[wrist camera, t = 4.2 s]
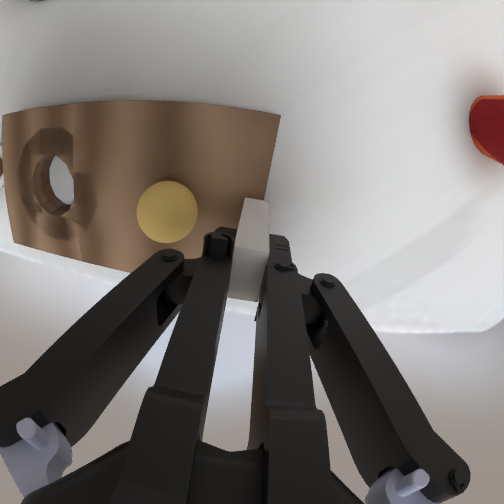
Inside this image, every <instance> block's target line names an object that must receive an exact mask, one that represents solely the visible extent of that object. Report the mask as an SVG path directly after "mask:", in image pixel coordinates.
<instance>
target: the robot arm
mask: <svg viewBox="0 0 504 504" xmlns="http://www.w3.org/2000/svg"><path fill="white" fill-rule="evenodd" d="M32 1H41V0H32ZM227 297H229V298H235V299H241V300H247V301H254V302H258V300H259V303H258V307H257V312H256V316H255V320H254V321H256V338H255V354H254V371H253V388H252V402H251V418H250V433H249V442H248V447H247V450H244V451H235V452H229V451H225V450H223V449H220V448H217V447H215V446H212V445H210V444H207V443H204V442H202V437H203V431H204V424H205V418H206V413H207V407H208V400H209V395H210V389H211V383H212V377H213V372H214V366H215V361H216V355H217V349H218V343H219V338H220V333H221V328H222V322H223V316H224V311H225V306H226V300H227ZM179 311H180V313H179ZM178 313H179V316H178V318H177V321H176V324H175V327H174V329H173V332H172V335H171V338H170V341H169V344H168V346H167V349H166V352H165V355H164V358H163V361H162V364H161V367H160V370H159V373H158V376H157V379H156V382H155V384H154V386H153V387H149V388H148V389H147V391H146V393H145V396H144V398H143V401H142V405H141V407H140V411H139V414H138V417H137V420H136V423H135V426H134V429H133V433H132V436H131V439H130V441H128V442H125V443H123V444H121V445H119V446H117V447H115V448H114V449H112V450H111V451H109V452H107V453H106V454H104V455H102V456H101V457H99V458H97V459H95V460H94V461H92V462H90V463H88V464H86V465H85V466H83V467H81V468H79V469H77V470H76V471H74V472H72V473H70V474H68V475H66V476H64V477H62V474H63V471H64V470H65V469H66V468H67V467H68V466H70V465H71V463H72V449H71V447H72V446H73V445H75V444H76V443H77V442H78V441H79V440H80V439H81V438H82V437H83V436H84V435H85V434H86V433H87V432H88V431H89V429H90V428H91V427H92V426H93V424H94V423H95V422H96V420H97V419H98V418H99V416H100V415H101V414H102V412H103V411H104V409H105V408H106V407H107V405H108V404H109V403H110V401H111V400H112V399H113V397H114V396H115V395H116V393H117V392H118V391H119V389H120V388H121V387H122V385H123V384H124V383H125V381H126V380H127V379H128V377H129V376H130V375H131V374H132V372H133V371H134V370H135V368H136V367H137V365H138V364H139V363H140V362H141V360H142V359H143V358H144V356H145V355H146V354H147V353H148V351H149V350H150V349H151V347H152V346H153V345H154V344H155V342H156V340H158V338H159V337H160V336H161V334H162V333H163V332H164V331H165V329H166V328H167V327H168V325H169V324H170V323H171V322H172V320H173V319H174V318H175V316H176V315H177V314H178ZM310 356H311V358H312V361H313V363H314V365H315V368H316V370H317V372H318V375H319V377H320V380H321V382H322V385H323V387H324V389H325V392H326V394H327V397H328V399H329V401H330V404H331V406H332V409H333V411H334V413H335V416H336V418H337V421H338V423H339V425H340V428H341V430H342V433H343V435H344V438H345V440H346V443H347V445H348V448H349V450H350V453H351V455H352V458H353V460H354V463H355V465H356V466H357V469H358V471H359V473H360V475H361V476H362V478H363V479H364V481H365V482H366V484H367V485H368V486H369V487H370V489H369V492H368V494H367V495H366V497H365V503H366V504H440V503H442V502H443V501H446V500H448V499H450V498H453V497H455V496H457V495H459V494H461V493H463V492H464V491H465V490H466V488H467V486H468V484H469V482H470V470H469V467H468V465H467V464H466V462H465V461H464V460H463V459H462V458H461V457H460V456H459V455H458V454H457V453H456V452H454V450H453V449H451V447H450V446H449V445H447V444H446V443H445V442H444V441H443V440H442V439H441V438H440V437H439V436H438V435H437V434H436V433H435V432H434V431H433V429H432V427H431V426H430V424H429V422H428V420H427V418H426V417H425V414H424V413H423V411H422V409H421V407H420V406H419V404H418V402H417V401H416V399H415V397H414V395H413V394H412V392H411V390H410V389H409V387H408V385H407V383H406V382H405V380H404V378H403V377H402V375H401V373H400V372H399V370H398V368H397V367H396V365H395V363H394V362H393V360H392V359H391V357H390V355H389V354H388V352H387V351H386V349H385V347H384V346H383V344H382V343H381V341H380V340H379V338H378V337H377V335H376V333H375V332H374V330H373V329H372V327H371V326H370V324H369V323H368V321H367V320H366V318H365V317H364V315H363V314H362V312H361V311H360V309H359V308H358V306H357V305H356V303H355V302H354V300H353V299H352V297H351V296H350V295H349V293H348V292H347V290H346V289H345V287H344V286H343V284H342V283H341V282H340V281H339V280H338V279H337V278H336V277H334V276H332V275H330V274H324V273H320V274H317V275H315V276H314V278H313V280H312V279H309V278H307V277H304V276H302V275H300V274H299V273H298V270H297V267H296V265H295V264H293V263H292V259H291V252H290V246H289V241H288V240H287V239H286V238H285V237H284V236H279V235H273V234H269V202H268V201H263V200H258V199H252V198H246V197H245V200H244V204H243V208H242V213H241V217H240V221H239V226H238V229H234V228H228V227H222V226H220V227H219V228H217V229H215V231H214V232H210V233H207V234H206V235H205V236H204V243H203V253H202V256H201V257H199V258H195V259H184V254H183V253H182V252H180V251H178V250H175V249H163V250H159V251H158V252H156V253H155V254H153V255H152V256H151V257H150V258H149V259H147V260H146V261H145V262H144V263H143V264H141V265H140V266H139V267H138V268H137V269H135V270H134V271H133V272H132V273H131V274H129V275H128V276H127V277H126V278H125V279H124V280H122V281H121V282H120V283H119V284H118V285H117V286H115V287H114V288H113V289H112V290H111V291H110V292H109V293H107V294H106V295H105V296H104V297H103V298H102V299H101V300H100V301H99V302H97V303H96V304H95V305H94V306H93V307H92V308H91V309H90V310H88V311H87V312H86V313H85V314H84V315H83V316H82V317H81V318H80V319H79V320H78V321H77V322H76V323H74V325H72V326H71V327H70V328H69V329H68V330H67V331H66V332H65V333H64V334H63V335H62V336H61V337H60V338H59V339H58V340H57V341H56V342H55V343H54V344H53V345H52V346H51V347H50V348H49V349H48V350H47V351H46V352H45V353H44V354H43V355H42V356H41V357H40V358H39V359H38V360H37V361H36V362H35V363H34V364H33V365H32V366H31V367H30V368H29V369H28V370H27V371H26V372H25V373H24V374H22V375H20V376H19V377H17V378H15V379H13V380H12V381H9V382H8V383H6V384H4V385H2V386H0V454H1V456H2V458H3V460H4V462H5V464H6V466H7V468H8V470H9V472H10V474H11V476H12V478H13V480H14V481H15V483H16V485H17V487H18V488H19V490H20V492H21V493H22V495H23V496H24V499H23V501H22V503H21V504H364V503H363V502H362V501H361V500H360V499H359V498H358V497H357V496H356V495H355V494H354V493H352V491H351V490H350V489H349V488H348V487H347V486H345V484H344V483H343V482H342V481H341V480H340V479H339V478H338V477H337V476H336V475H335V474H334V473H333V472H332V471H331V470H330V459H329V448H328V438H327V429H326V421H325V416H324V413H323V412H322V411H321V410H318V409H317V408H316V405H315V398H314V389H313V380H312V371H311V362H310Z"/></svg>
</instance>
